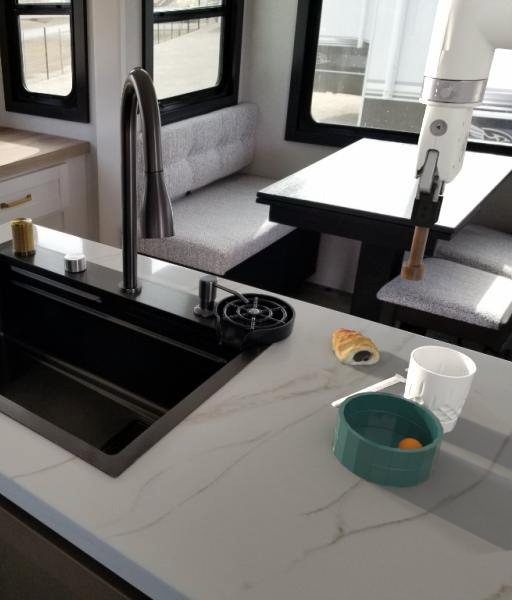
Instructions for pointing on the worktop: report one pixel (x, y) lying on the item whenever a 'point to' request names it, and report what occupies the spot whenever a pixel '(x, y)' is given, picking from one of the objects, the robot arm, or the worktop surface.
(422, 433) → the bowl
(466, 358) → the white cup
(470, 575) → the worktop surface
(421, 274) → the brown wooden pestle
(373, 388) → the fork
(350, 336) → the pastry
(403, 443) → the ball
